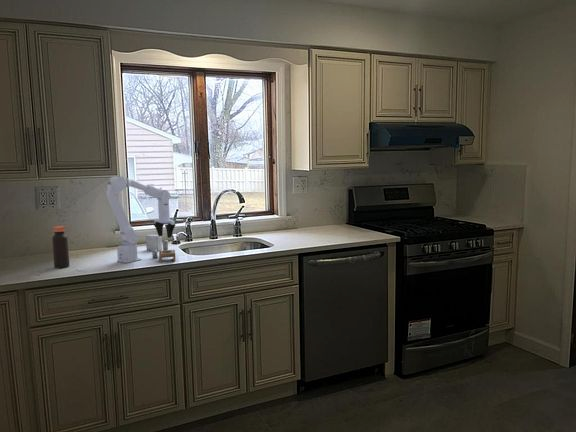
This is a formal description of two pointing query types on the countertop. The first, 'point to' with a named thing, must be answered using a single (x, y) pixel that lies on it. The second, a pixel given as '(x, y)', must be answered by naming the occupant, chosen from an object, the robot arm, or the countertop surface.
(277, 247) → the countertop surface
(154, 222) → the robot arm
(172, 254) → the hole bridge
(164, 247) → the tall pin
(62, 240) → the bottle
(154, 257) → the short pin
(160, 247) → the medicine box
